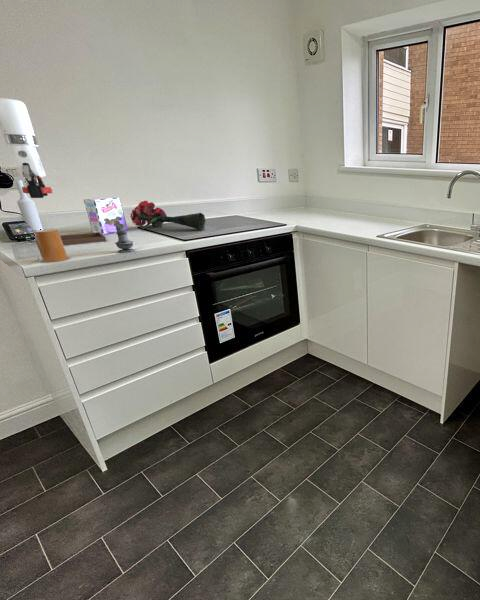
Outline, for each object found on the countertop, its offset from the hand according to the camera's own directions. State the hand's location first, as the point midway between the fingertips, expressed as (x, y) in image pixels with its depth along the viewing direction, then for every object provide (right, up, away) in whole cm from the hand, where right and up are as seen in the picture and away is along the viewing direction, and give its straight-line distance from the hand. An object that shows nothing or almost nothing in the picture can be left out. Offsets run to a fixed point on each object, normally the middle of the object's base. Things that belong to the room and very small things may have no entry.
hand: (39, 196), depth 122 cm
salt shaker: (+16, -17, +19) cm, 30 cm away
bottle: (-32, -10, +31) cm, 45 cm away
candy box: (-18, -3, +52) cm, 55 cm away
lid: (0, +3, -1) cm, 3 cm away
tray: (-15, -10, +33) cm, 37 cm away
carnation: (+4, +2, +65) cm, 65 cm away
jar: (+1, -22, +4) cm, 22 cm away
